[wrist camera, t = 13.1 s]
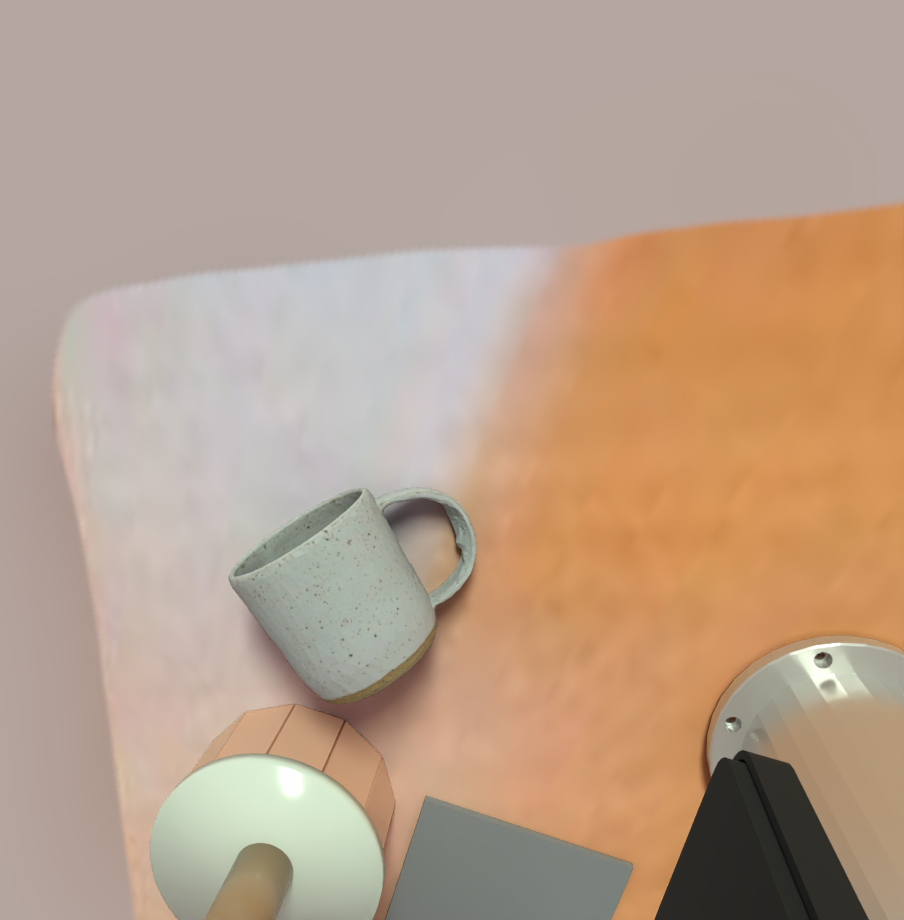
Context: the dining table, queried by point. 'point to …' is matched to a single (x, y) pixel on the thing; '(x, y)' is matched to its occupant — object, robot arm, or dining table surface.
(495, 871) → the placemat
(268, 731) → the round wooden tub
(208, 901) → the lid
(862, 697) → the robot arm
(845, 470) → the dining table surface
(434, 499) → the ceramic mug
